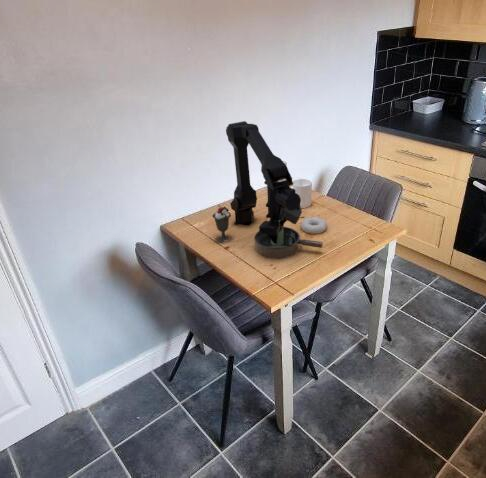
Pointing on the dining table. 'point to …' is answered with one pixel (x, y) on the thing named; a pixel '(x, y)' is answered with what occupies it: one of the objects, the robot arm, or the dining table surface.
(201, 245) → the dining table surface
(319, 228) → the donut
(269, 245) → the black frying pan
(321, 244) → the handle
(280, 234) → the spice jar
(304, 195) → the cup
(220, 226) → the sundae
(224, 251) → the dining table surface
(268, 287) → the dining table surface
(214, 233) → the dining table surface
